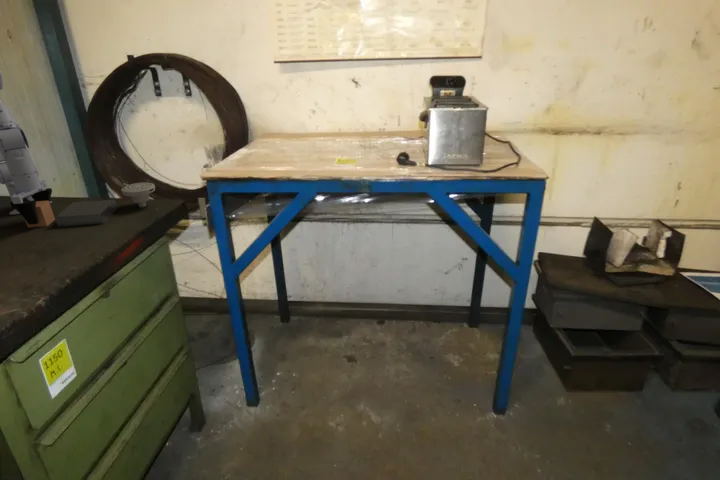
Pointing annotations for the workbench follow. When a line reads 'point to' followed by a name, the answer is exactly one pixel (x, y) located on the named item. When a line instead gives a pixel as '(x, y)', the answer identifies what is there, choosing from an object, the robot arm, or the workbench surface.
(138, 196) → the showerhead
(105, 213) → the steel base
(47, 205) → the terracotta block
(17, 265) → the workbench surface
